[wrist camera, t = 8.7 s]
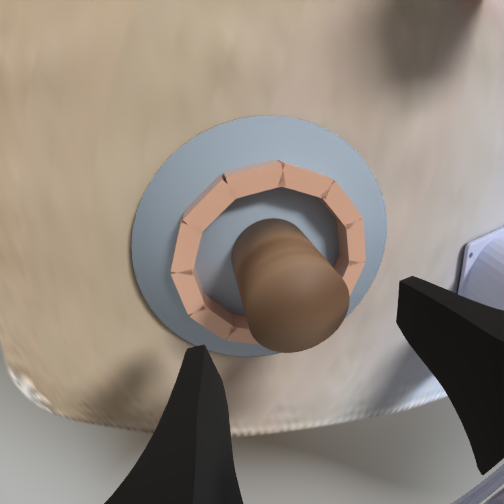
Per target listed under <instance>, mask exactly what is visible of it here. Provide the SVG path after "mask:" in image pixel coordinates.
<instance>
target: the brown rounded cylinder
mask: <svg viewBox="0 0 504 504" xmlns="http://www.w3.org/2000/svg"><path fill="white" fill-rule="evenodd" d="M231 261H232V266H233V270H234V274H235V278H236V281H237V285H238V289H239V293H240V297H241V300H242V304H243V308H244V311H245V315H246V319H247V322H248V326H249V330H250V332H251V334H252V336H253V338H254V339H255V340H256V341H257V342H258V343H259V344H260V345H261V346H263V347H265V348H267V349H269V350H272V351H276V352H282V353H291V352H299V351H303V350H306V349H309V348H312V347H314V346H316V345H318V344H320V343H321V342H323V341H324V340H326V339H327V338H329V337H330V336H331V335H332V334H333V333H334V332H335V331H336V330H337V329H338V328H339V326H340V325H341V323H342V322H343V320H344V318H345V316H346V314H347V311H348V308H349V301H350V296H349V290H348V287H347V285H346V283H345V281H344V280H343V279H342V277H341V276H340V275H339V274H338V273H337V271H336V270H335V269H334V268H333V267H332V266H331V264H330V263H329V262H328V261H327V260H326V259H325V257H324V256H323V255H322V254H321V253H320V252H319V250H318V249H317V248H316V247H315V246H314V245H313V244H312V242H311V241H310V240H309V239H308V238H307V237H306V236H305V235H304V233H303V232H302V231H301V230H300V229H299V228H298V227H297V226H296V225H294V224H293V223H291V222H289V221H287V220H284V219H279V218H269V219H263V220H260V221H257V222H255V223H253V224H251V225H250V226H248V227H247V228H246V229H245V230H243V232H242V233H241V234H240V235H239V236H238V238H237V239H236V241H235V243H234V246H233V249H232V255H231Z"/></svg>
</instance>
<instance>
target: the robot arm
mask: <svg viewBox="0 0 504 504" xmlns="http://www.w3.org/2000/svg"><path fill="white" fill-rule="evenodd" d="M396 323H397V325H398V326H399V328H400V330H401V331H402V333H403V335H404V336H405V338H406V340H407V341H408V343H409V344H410V345H411V347H412V348H413V349H414V351H415V352H416V353H417V354H418V356H419V357H420V358H421V359H422V361H423V362H424V363H425V364H426V366H427V367H428V368H429V370H430V371H431V372H432V373H433V375H434V376H435V377H436V379H437V380H438V381H439V383H440V384H441V385H442V387H443V388H444V390H445V392H446V393H447V395H448V397H449V399H450V400H451V402H452V404H453V406H454V408H455V409H456V412H457V414H458V416H459V418H460V420H461V422H462V424H463V426H464V429H465V431H466V433H467V436H468V439H469V441H470V444H471V446H472V450H473V453H474V456H475V459H476V463H477V467H478V469H479V471H480V472H481V474H482V475H484V474H485V473H486V472H488V471H489V470H490V469H491V468H492V467H494V466H495V465H496V464H497V463H499V462H500V461H501V460H502V459H503V458H504V227H502V228H499V229H497V230H495V231H493V232H491V233H489V234H487V235H485V236H482V237H480V238H478V239H476V240H474V241H471V242H469V243H468V244H467V245H466V247H465V252H464V259H463V266H462V272H461V278H460V284H459V289H458V294H456V293H453V292H451V291H449V290H446V289H444V288H442V287H439V286H437V285H434V284H432V283H430V282H427V281H425V280H422V279H419V278H417V277H414V276H411V277H409V278H406V279H404V280H401V281H399V297H398V309H397V320H396ZM503 483H504V464H503V465H502V466H501V467H499V469H497V470H496V471H495V472H494V473H492V474H491V475H490V476H489V477H488V478H486V479H485V480H484V481H482V482H481V483H480V484H479V485H477V486H476V487H474V488H473V489H472V490H470V491H469V492H468V493H466V494H465V495H463V496H462V497H460V498H459V499H458V500H456V501H455V502H453V503H452V504H479V503H480V502H482V501H483V500H484V499H486V498H487V497H488V496H489V495H491V494H492V493H493V492H494V491H495V490H496V489H498V488H499V487H500V486H501V485H502V484H503ZM104 504H243V501H242V497H241V493H240V489H239V485H238V481H237V477H236V473H235V468H234V461H233V454H232V444H231V433H230V423H229V413H228V405H227V400H226V395H225V391H224V386H223V381H222V379H221V377H220V375H219V373H218V371H217V369H216V367H215V365H214V363H213V361H212V359H211V357H210V354H209V352H208V350H207V348H206V346H205V344H204V345H200V346H196V347H192V348H188V349H187V350H186V352H185V356H184V359H183V362H182V365H181V368H180V371H179V374H178V377H177V380H176V383H175V385H174V388H173V390H172V393H171V396H170V398H169V401H168V403H167V406H166V408H165V410H164V412H163V415H162V417H161V419H160V421H159V424H158V426H157V428H156V430H155V432H154V434H153V435H152V437H151V439H150V441H149V443H148V445H147V446H146V448H145V450H144V452H143V453H142V455H141V456H140V458H139V459H138V461H137V463H136V464H135V466H134V467H133V469H132V470H131V471H130V473H129V474H128V476H127V477H126V478H125V479H124V481H123V482H122V483H121V485H120V486H119V487H118V488H117V490H116V491H115V492H114V493H113V495H112V496H111V497H110V498H109V499H108V500H107V501H106V502H105V503H104ZM484 504H504V488H503V489H502V490H500V491H499V492H498V493H496V494H495V495H494V496H492V497H491V498H490V499H489V500H487V501H486V502H485V503H484Z"/></svg>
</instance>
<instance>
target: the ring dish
mask: <svg viewBox="0 0 504 504" xmlns="http://www.w3.org/2000/svg"><path fill="white" fill-rule="evenodd" d="M269 218H279V219H284V220H287V221H289V222H291V223H293V224H294V225H296V226H297V227H298V228H299V229H300V230H301V231H302V232H303V233H304V235H305V236H306V237H307V238H308V239H309V240H310V241H311V242H312V244H313V245H314V246H315V247H316V248H317V249H318V250H319V252H320V253H321V254H322V255H323V256H324V257H325V259H326V260H327V261H328V262H329V263H330V264H331V266H332V267H333V268H334V269H335V270H336V271H337V273H338V274H339V275H340V276H341V277H342V279H343V280H344V281H345V283H346V285H347V287H348V290H349V296H350V301H349V308H348V311H347V314H346V316H345V318H346V317H347V316H348V315H349V314H350V313H351V312H352V311H353V310H354V308H355V307H356V306H357V305H358V304H359V303H360V301H361V300H362V298H363V297H364V296H365V294H366V293H367V291H368V290H369V288H370V286H371V284H372V282H373V281H374V279H375V276H376V274H377V272H378V269H379V267H380V264H381V261H382V257H383V254H384V249H385V243H386V234H387V219H386V209H385V204H384V200H383V196H382V192H381V190H380V187H379V185H378V182H377V180H376V178H375V176H374V174H373V172H372V171H371V169H370V167H369V166H368V164H367V163H366V162H365V160H364V159H363V158H362V157H361V155H360V154H359V153H358V152H357V151H356V150H355V149H354V148H353V147H352V146H351V145H350V144H348V143H347V142H346V141H345V140H343V139H342V138H340V137H339V136H338V135H336V134H335V133H333V132H331V131H329V130H327V129H325V128H323V127H321V126H319V125H317V124H314V123H311V122H308V121H304V120H301V119H297V118H290V117H283V116H254V117H247V118H241V119H236V120H232V121H229V122H226V123H223V124H220V125H217V126H215V127H213V128H211V129H209V130H207V131H204V132H202V133H200V134H199V135H197V136H196V137H194V138H193V139H191V140H190V141H188V142H187V143H185V144H184V145H182V146H181V147H180V148H179V149H178V150H177V151H176V152H175V153H174V154H173V155H172V156H170V157H169V158H168V159H167V161H166V162H165V163H164V164H163V165H162V167H161V168H160V169H159V170H158V172H157V173H156V174H155V176H154V177H153V179H152V180H151V182H150V184H149V185H148V187H147V189H146V191H145V192H144V194H143V197H142V199H141V202H140V204H139V207H138V209H137V212H136V217H135V221H134V225H133V231H132V244H131V249H132V262H133V267H134V272H135V276H136V280H137V282H138V285H139V287H140V290H141V292H142V295H143V296H144V298H145V300H146V302H147V303H148V305H149V307H150V308H151V309H152V311H153V312H154V313H155V315H156V316H157V317H158V318H159V319H160V320H161V321H162V322H163V323H164V324H165V325H166V326H167V327H168V328H169V329H170V330H171V331H173V332H174V333H175V334H177V335H178V336H180V337H181V338H183V339H184V340H186V341H188V342H190V343H192V344H193V345H196V346H200V345H204V344H205V346H206V348H207V350H209V351H212V352H216V353H219V354H225V355H231V356H244V357H253V356H266V355H272V354H278V353H282V352H276V351H272V350H269V349H267V348H265V347H263V346H261V345H260V344H259V343H258V342H257V341H256V340H255V339H254V338H253V336H252V334H251V332H250V330H249V326H248V322H247V319H246V315H245V311H244V308H243V304H242V300H241V297H240V293H239V289H238V285H237V281H236V278H235V274H234V270H233V266H232V261H231V255H232V249H233V246H234V243H235V241H236V239H237V238H238V236H239V235H240V234H241V233H242V232H243V230H245V229H246V228H247V227H248V226H250V225H251V224H253V223H255V222H257V221H260V220H263V219H269ZM345 318H344V319H345Z"/></svg>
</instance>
